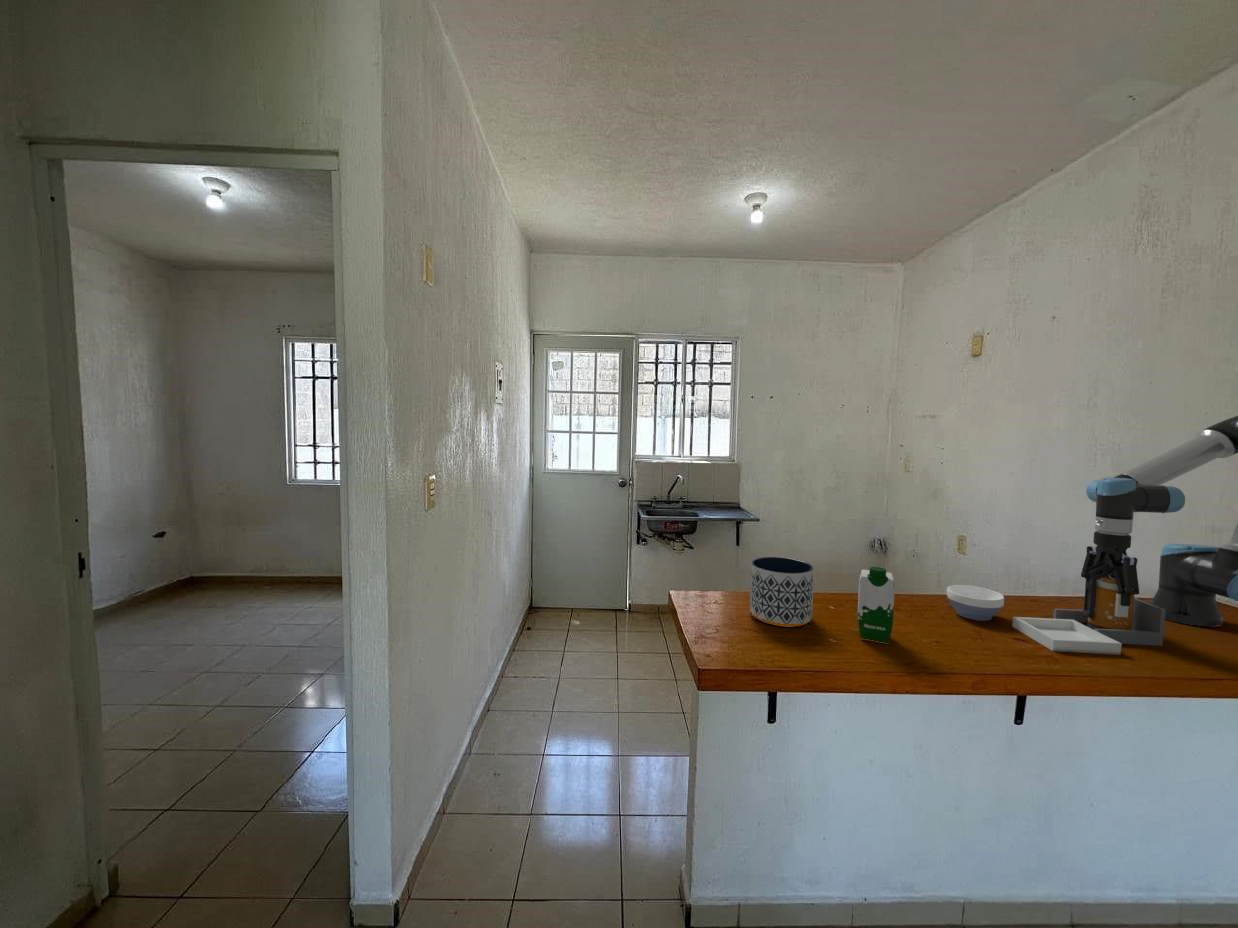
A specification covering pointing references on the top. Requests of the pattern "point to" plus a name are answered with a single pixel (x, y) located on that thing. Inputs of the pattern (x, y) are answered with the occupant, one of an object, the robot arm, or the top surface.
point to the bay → (1144, 624)
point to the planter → (781, 590)
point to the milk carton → (876, 604)
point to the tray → (1066, 635)
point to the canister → (1104, 600)
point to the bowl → (975, 602)
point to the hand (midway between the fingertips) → (1106, 609)
